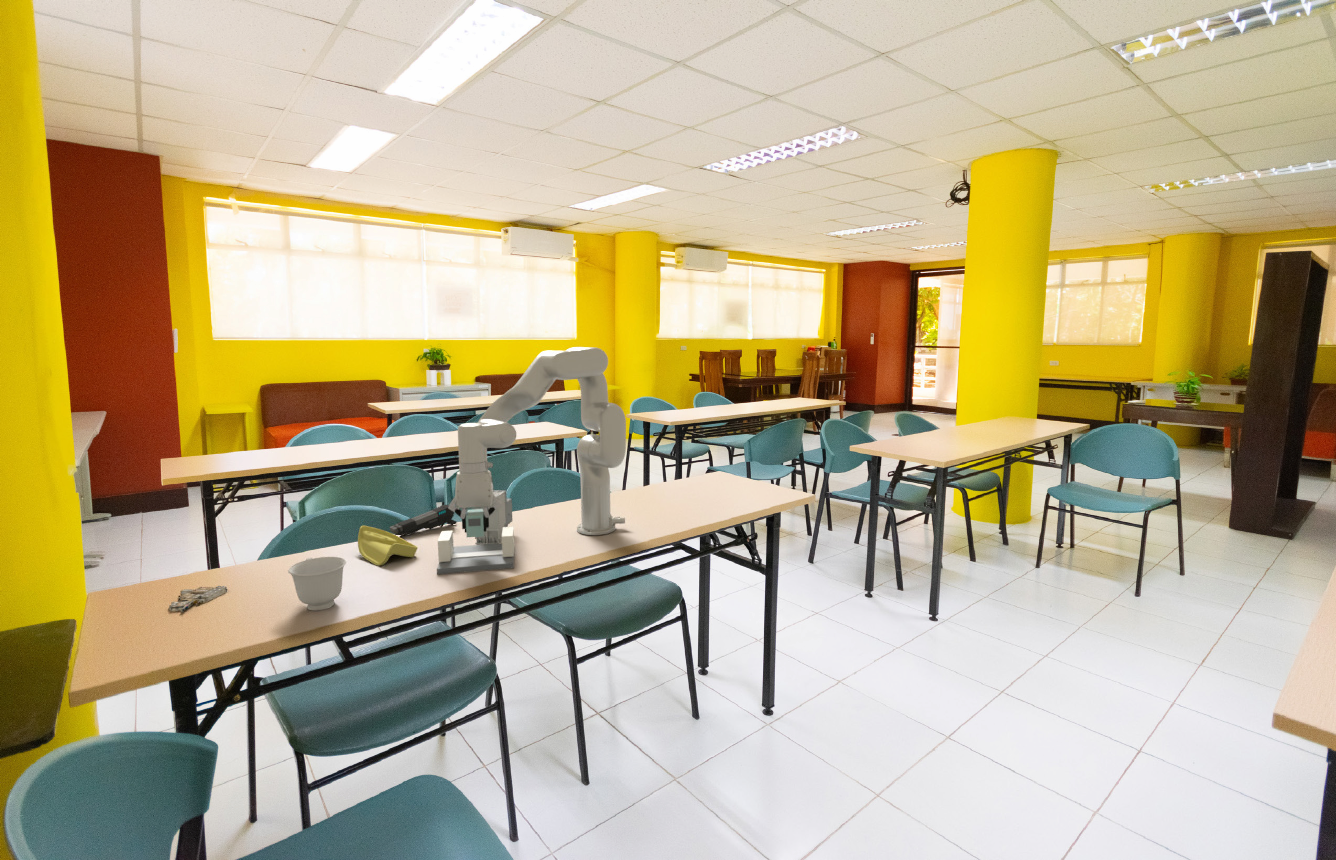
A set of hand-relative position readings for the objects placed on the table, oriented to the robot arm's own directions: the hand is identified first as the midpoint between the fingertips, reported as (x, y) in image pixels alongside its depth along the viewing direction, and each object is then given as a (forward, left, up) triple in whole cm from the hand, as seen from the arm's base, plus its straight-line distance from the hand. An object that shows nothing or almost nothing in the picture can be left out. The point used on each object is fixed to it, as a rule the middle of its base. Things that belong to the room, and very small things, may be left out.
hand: (475, 530), depth 180 cm
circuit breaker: (-4, -21, -9) cm, 23 cm away
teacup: (+35, +22, -9) cm, 42 cm away
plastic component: (+26, -11, -9) cm, 30 cm away
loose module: (0, 0, -1) cm, 1 cm away
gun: (+19, -33, -9) cm, 39 cm away
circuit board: (+64, +13, -10) cm, 66 cm away
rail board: (0, 0, -9) cm, 9 cm away
